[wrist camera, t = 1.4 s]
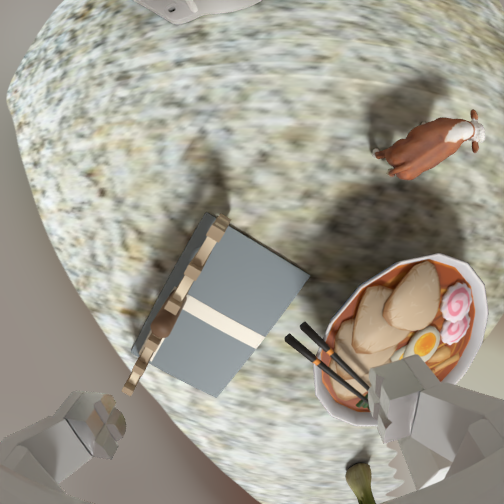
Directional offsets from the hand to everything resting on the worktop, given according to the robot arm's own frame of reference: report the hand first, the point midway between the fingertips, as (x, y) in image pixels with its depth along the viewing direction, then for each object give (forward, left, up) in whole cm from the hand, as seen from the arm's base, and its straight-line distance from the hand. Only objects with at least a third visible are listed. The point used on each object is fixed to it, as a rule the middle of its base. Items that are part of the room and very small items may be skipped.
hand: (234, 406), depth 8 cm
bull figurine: (+10, +19, -24) cm, 32 cm away
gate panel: (-3, -4, -23) cm, 24 cm away
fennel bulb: (+41, -27, -24) cm, 55 cm away
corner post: (-3, -10, -24) cm, 26 cm away
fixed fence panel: (-3, -17, -24) cm, 29 cm away
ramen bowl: (+21, 0, -24) cm, 32 cm away
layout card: (+2, -11, -24) cm, 26 cm away
